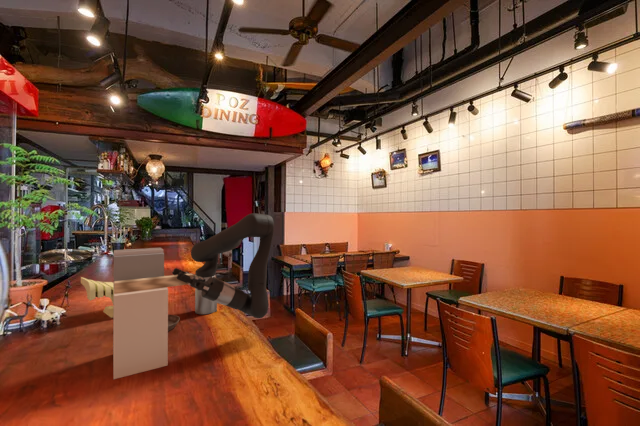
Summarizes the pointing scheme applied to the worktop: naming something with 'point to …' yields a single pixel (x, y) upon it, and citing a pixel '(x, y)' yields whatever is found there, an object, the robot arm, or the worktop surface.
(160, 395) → the worktop surface
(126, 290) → the maple bar
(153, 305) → the stepped stand
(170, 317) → the plant saucer
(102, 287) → the slatted curved stool
